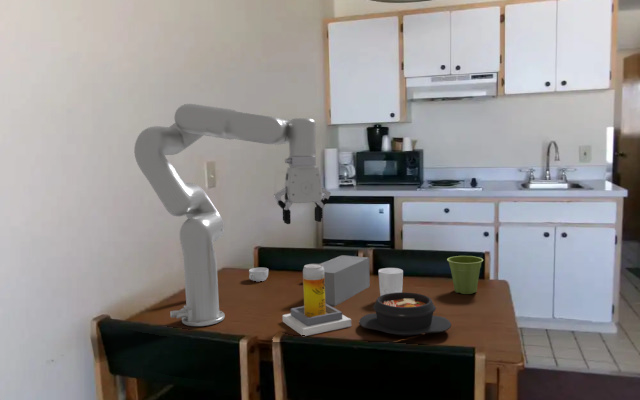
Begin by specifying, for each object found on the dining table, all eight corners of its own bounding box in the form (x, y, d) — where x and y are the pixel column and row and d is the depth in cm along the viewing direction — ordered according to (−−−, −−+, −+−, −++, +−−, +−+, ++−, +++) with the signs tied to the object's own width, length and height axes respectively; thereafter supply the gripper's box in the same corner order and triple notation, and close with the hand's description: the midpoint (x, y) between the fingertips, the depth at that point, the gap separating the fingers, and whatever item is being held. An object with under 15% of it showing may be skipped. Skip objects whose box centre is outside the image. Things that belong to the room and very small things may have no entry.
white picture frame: (303, 336, 139) (302, 322, 139) (282, 321, 151) (282, 308, 151) (351, 326, 146) (351, 312, 145) (327, 312, 158) (327, 300, 158)
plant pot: (469, 285, 184) (469, 254, 183) (490, 294, 173) (490, 260, 172) (440, 289, 181) (440, 257, 179) (460, 298, 169) (460, 264, 168)
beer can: (323, 321, 145) (322, 268, 143) (302, 320, 146) (300, 268, 144) (327, 313, 151) (325, 263, 149) (306, 313, 152) (305, 263, 150)
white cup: (374, 301, 169) (373, 271, 168) (387, 295, 174) (387, 266, 174) (394, 305, 163) (394, 274, 162) (407, 299, 169) (407, 269, 168)
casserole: (353, 338, 136) (353, 307, 136) (364, 316, 154) (363, 288, 154) (451, 344, 131) (451, 312, 130) (450, 320, 149) (450, 291, 148)
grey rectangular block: (314, 280, 198) (313, 252, 197) (369, 287, 186) (369, 257, 185) (276, 297, 177) (274, 266, 176) (335, 306, 165) (334, 273, 164)
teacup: (258, 277, 206) (258, 265, 206) (277, 280, 200) (277, 268, 200) (240, 282, 198) (240, 270, 198) (259, 286, 192) (259, 274, 192)
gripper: (279, 163, 139) (279, 226, 141) (335, 162, 147) (335, 222, 149) (269, 162, 146) (269, 222, 148) (324, 161, 154) (323, 218, 155)
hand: (302, 222), depth 148 cm, fingers open, 9 cm apart
